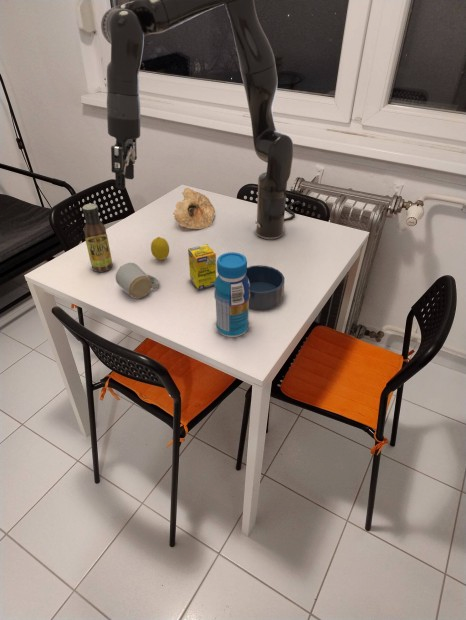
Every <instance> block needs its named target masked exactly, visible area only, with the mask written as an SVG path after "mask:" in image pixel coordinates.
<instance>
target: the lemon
mask: <svg viewBox="0 0 466 620" xmlns="http://www.w3.org/2000/svg"><path fill="white" fill-rule="evenodd" d="M150 251H151V255H152V256H153V257H154V258H155V259H156V260H160V261H164V259H166V258H167V257H168V256H169V254H170V246H169V242H168V241H167V240H166V239H165V238H164V237H160V236H157V237H156V238H153V239H152V241H151V243H150Z"/></svg>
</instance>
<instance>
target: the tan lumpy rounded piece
mask: <svg viewBox="0 0 466 620" xmlns="http://www.w3.org/2000/svg"><path fill="white" fill-rule="evenodd" d="M181 194H182V195H183V200H179V201H177V202H176V203H175V209H174V211H173V213H172V214H173V218H174V220H175V222H177V223H179V225H180V228H187V229H190V230H191V229H196V230H199V229H200V230H201V229H202V230H203V229H204V228H207V227H210V226H211V225H212V223H213V222H214V221H213V220H214V216H215V214H216V210H215V207H214V205H213V204H212V202H211V200H210V199H209V198H208V196H206V195H205V194H202V193H201V192H199V191H195V190H193V189H190V187H185V188H184V189H183V191H182V192H181Z"/></svg>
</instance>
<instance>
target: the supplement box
mask: <svg viewBox="0 0 466 620" xmlns="http://www.w3.org/2000/svg"><path fill="white" fill-rule="evenodd" d="M187 251H188V252H187V254H188V266H189V267H188V268H189V280H190V282H191V284H192V285H193V286H194V288H195V289H196V290H197V292H200V291H203V290H205V289H206V290H207V289H209V288H213V287H214V288H215V286H214V285H215V280H216V278H217V256H216V255H217V253H216V252H215V251H214V250H213V249H212V247H210V246H209V244H203V245H199V246H195V247H191V248H188V249H187Z"/></svg>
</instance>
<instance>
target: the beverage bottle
mask: <svg viewBox="0 0 466 620" xmlns="http://www.w3.org/2000/svg"><path fill="white" fill-rule="evenodd" d="M247 267H248V260H247V257H246V255H244V254H242V253H240V252H234V251H230V252H229V251H228V252H224V253H222V254H220V255H219V256H218V257H217V258H216V273H217V275H216V280H215V285H214V293H213V294H214V296H213V297H214V299H215V314H216V315H215V317H216V320H215V326H216V330H217V331H218V333H219V334H221V335H222V336H224V337H227V338H237V337H240V336H243V335H244V334H245V333H246V332H247V331H248V329H249V328H250V327H249V326H250V324H249V321H250V320H249V312H250V311H249V310H250V309H249V299H250V290H249V287H250V282H249V279H248V277H247V276H246V272H247Z"/></svg>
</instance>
